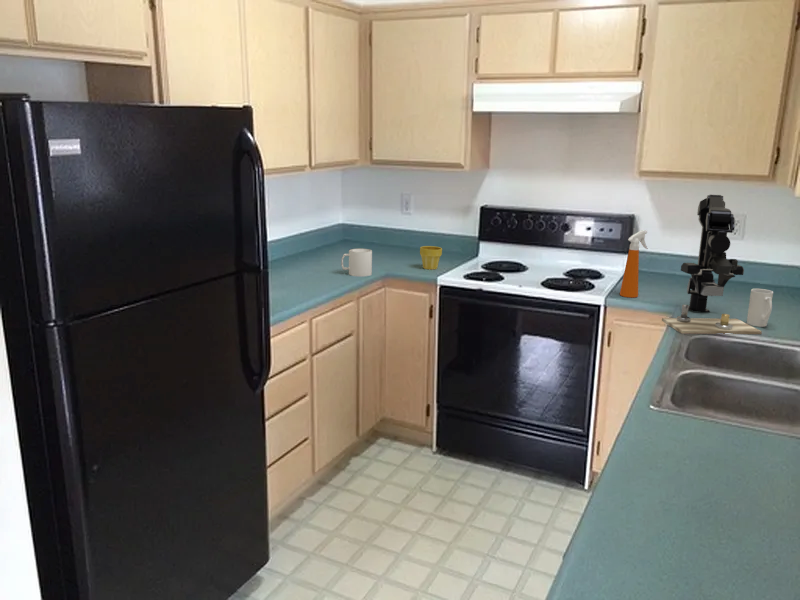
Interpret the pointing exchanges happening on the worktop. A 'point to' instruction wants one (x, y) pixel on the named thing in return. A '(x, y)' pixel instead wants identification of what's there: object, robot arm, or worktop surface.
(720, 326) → the hub
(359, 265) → the mug
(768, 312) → the mug
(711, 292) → the grey square frame
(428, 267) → the plant pot
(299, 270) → the worktop surface
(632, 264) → the spray bottle
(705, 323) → the board
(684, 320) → the stand
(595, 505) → the worktop surface
